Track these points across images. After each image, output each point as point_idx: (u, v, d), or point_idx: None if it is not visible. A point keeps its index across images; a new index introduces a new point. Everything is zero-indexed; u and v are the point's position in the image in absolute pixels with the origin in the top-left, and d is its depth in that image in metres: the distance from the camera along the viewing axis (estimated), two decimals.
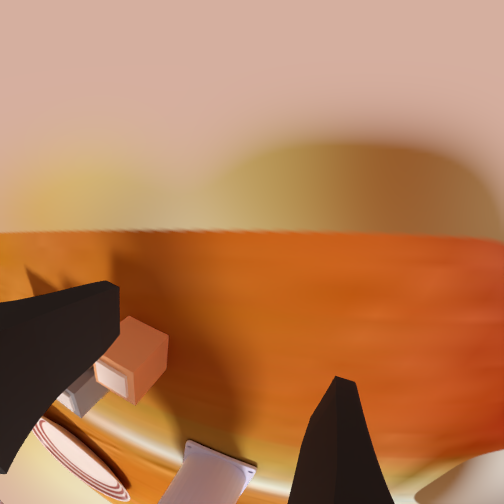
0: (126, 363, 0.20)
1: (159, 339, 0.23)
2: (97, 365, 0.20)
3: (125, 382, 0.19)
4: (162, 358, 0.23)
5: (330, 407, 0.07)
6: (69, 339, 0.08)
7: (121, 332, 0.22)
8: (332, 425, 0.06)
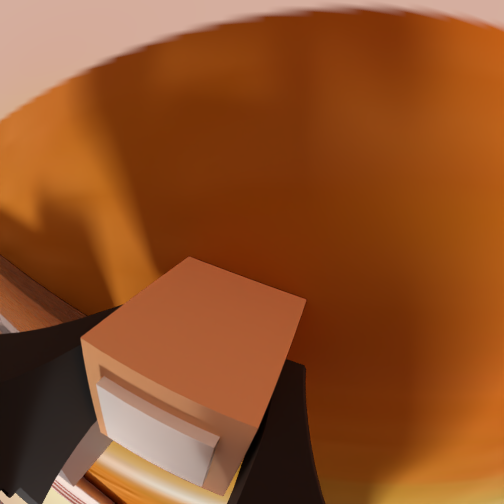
0: (221, 392, 0.05)
1: (288, 310, 0.09)
2: (105, 399, 0.06)
3: (211, 455, 0.05)
4: None
5: None
6: None
7: (178, 295, 0.08)
8: (269, 404, 0.06)
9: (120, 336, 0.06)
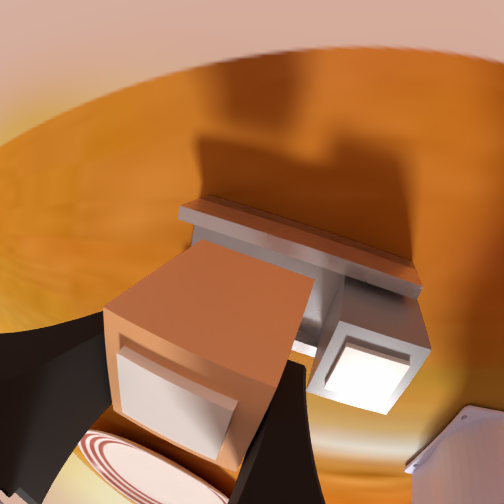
0: (240, 355, 0.06)
1: (298, 287, 0.09)
2: (124, 369, 0.06)
3: (229, 421, 0.06)
4: None
5: None
6: None
7: (195, 272, 0.09)
8: (269, 404, 0.06)
9: (142, 306, 0.07)
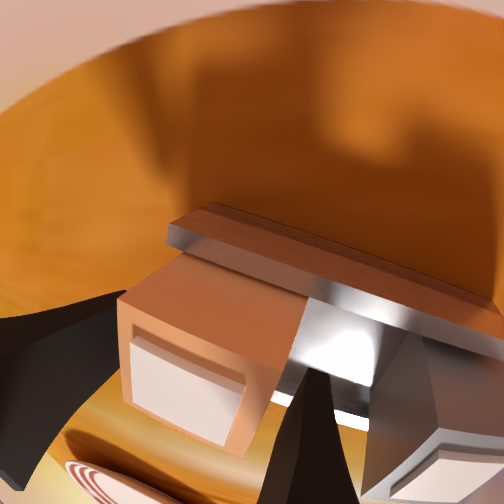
0: (248, 342, 0.06)
1: None
2: (136, 358, 0.07)
3: (237, 406, 0.06)
4: None
5: (300, 397, 0.07)
6: (89, 352, 0.07)
7: (202, 266, 0.09)
8: (299, 415, 0.06)
9: (154, 297, 0.07)
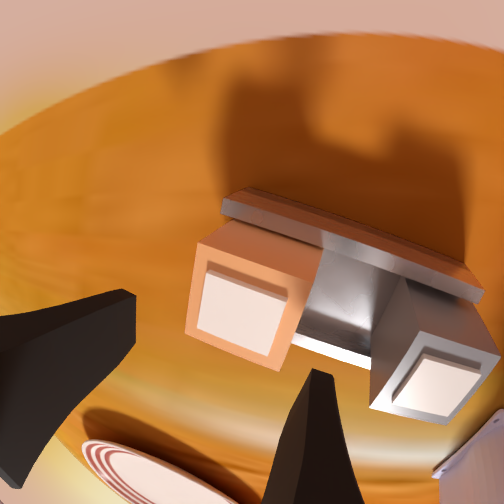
0: (289, 267, 0.10)
1: None
2: (209, 285, 0.10)
3: (282, 314, 0.10)
4: None
5: (304, 399, 0.07)
6: (86, 350, 0.07)
7: (248, 228, 0.13)
8: (304, 416, 0.06)
9: (222, 242, 0.11)
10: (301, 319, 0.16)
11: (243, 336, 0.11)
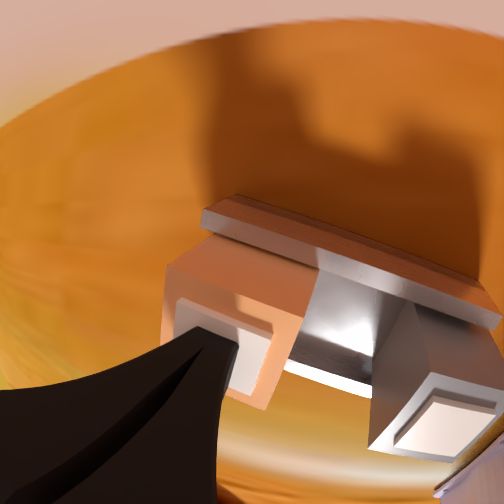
0: (275, 297, 0.08)
1: None
2: (181, 316, 0.09)
3: (266, 352, 0.08)
4: None
5: None
6: None
7: (232, 244, 0.11)
8: None
9: (197, 265, 0.09)
10: (295, 343, 0.14)
11: None
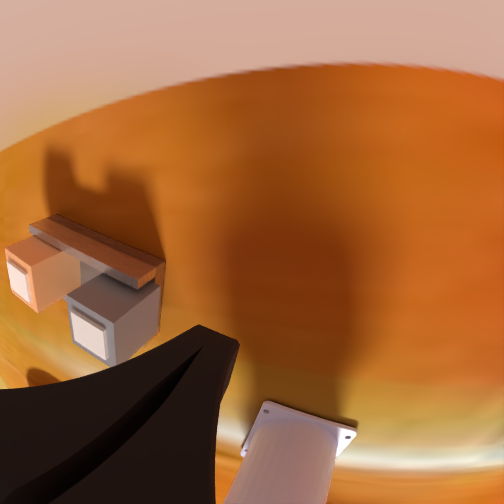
0: (29, 259, 0.18)
1: None
2: (8, 267, 0.18)
3: (26, 281, 0.18)
4: (72, 268, 0.22)
5: None
6: None
7: (36, 239, 0.20)
8: None
9: (14, 248, 0.18)
10: None
11: (21, 292, 0.18)
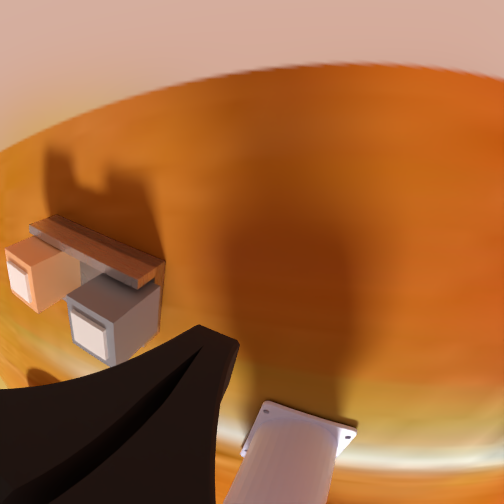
0: (29, 260, 0.18)
1: None
2: (8, 267, 0.18)
3: (26, 281, 0.18)
4: (72, 269, 0.22)
5: None
6: None
7: (36, 240, 0.20)
8: None
9: (14, 248, 0.18)
10: None
11: (21, 292, 0.18)
